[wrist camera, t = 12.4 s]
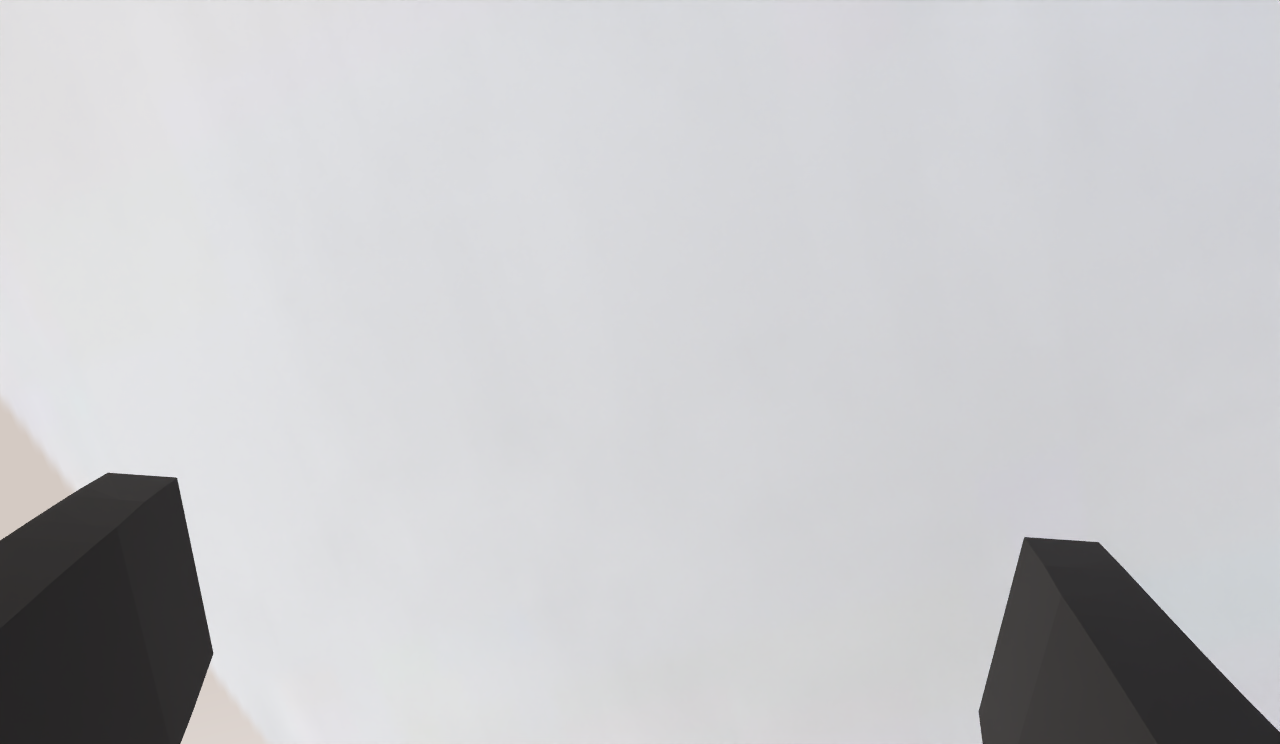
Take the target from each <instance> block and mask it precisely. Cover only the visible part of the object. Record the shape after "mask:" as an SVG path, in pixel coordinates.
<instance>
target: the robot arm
mask: <svg viewBox="0 0 1280 744" xmlns="http://www.w3.org/2000/svg"><path fill="white" fill-rule="evenodd" d="M212 656H213V649H212V645H211V640H210V635H209V630H208V625H207V620H206V616H205V611H204V606H203V601H202V596H201V592H200V587H199V582H198V577H197V572H196V567H195V563H194V558H193V553H192V548H191V543H190V538H189V534H188V529H187V524H186V519H185V514H184V509H183V505H182V500H181V495H180V490H179V485H178V481H177V478H174V477H159V476H145V475H131V474H117V473H107V474H105V475H103V476H102V477H100V478H98V479H96V480H95V481H93V482H91V483H89V484H88V485H86V486H84V487H83V488H81V489H79V490H78V491H76V492H75V493H73V494H71V495H70V496H68V497H67V498H65V499H63V500H62V501H60V502H59V503H57V504H56V505H54V506H52V507H51V508H50V509H48V510H46V511H45V512H43V513H42V514H40V515H39V516H37V517H35V518H34V519H32V520H31V521H29V522H28V523H26V524H25V525H23V526H22V527H20V528H19V529H17V530H16V531H14V532H13V533H11V534H10V535H8V536H6V537H5V538H3V539H2V540H0V744H180V743H181V741H182V738H183V735H184V733H185V730H186V728H187V725H188V723H189V720H190V717H191V715H192V712H193V710H194V707H195V704H196V701H197V698H198V695H199V692H200V690H201V687H202V684H203V681H204V678H205V676H206V673H207V670H208V667H209V664H210V661H211V659H212ZM979 718H980V725H981V733H982V741H983V744H1280V732H1279V731H1278V730H1277V729H1276V728H1275V727H1274V726H1273V725H1272V724H1271V723H1270V722H1269V721H1268V720H1267V719H1266V718H1265V717H1264V716H1263V715H1262V714H1261V713H1260V712H1259V711H1258V710H1257V709H1256V708H1255V707H1254V706H1253V705H1252V704H1251V703H1250V702H1249V701H1248V700H1247V699H1246V698H1245V697H1244V696H1243V695H1242V694H1241V693H1240V692H1239V690H1238V689H1237V688H1236V687H1235V686H1234V685H1233V684H1232V683H1231V682H1230V681H1229V680H1228V679H1227V678H1226V677H1225V676H1224V675H1223V674H1222V673H1221V672H1220V671H1219V670H1218V669H1217V668H1216V667H1215V665H1214V664H1213V663H1212V662H1211V661H1210V660H1209V659H1208V658H1207V657H1206V656H1205V655H1204V654H1203V653H1202V652H1201V651H1200V650H1199V649H1198V647H1197V646H1196V645H1195V644H1194V643H1193V642H1192V641H1191V640H1190V639H1189V638H1188V637H1187V636H1186V635H1185V634H1184V633H1183V631H1182V630H1181V629H1180V628H1179V627H1178V626H1177V625H1176V624H1175V623H1174V622H1173V621H1172V620H1171V619H1170V618H1169V617H1168V615H1167V614H1166V613H1165V612H1164V611H1163V610H1162V609H1161V608H1160V607H1159V606H1158V605H1157V604H1156V602H1155V601H1154V600H1153V599H1152V598H1151V597H1150V596H1149V595H1148V594H1147V593H1146V592H1145V591H1144V590H1143V588H1142V587H1141V586H1140V585H1139V584H1138V583H1137V582H1136V581H1135V580H1134V579H1133V578H1132V577H1131V576H1130V575H1129V573H1128V572H1127V571H1126V570H1125V569H1124V568H1123V567H1122V566H1121V565H1120V564H1119V563H1118V562H1117V561H1116V560H1115V559H1114V558H1113V557H1112V556H1111V555H1110V554H1109V553H1108V552H1107V550H1106V549H1105V548H1104V547H1103V546H1102V545H1101V544H1100V543H1099V542H1086V541H1072V540H1057V539H1043V538H1029V537H1024V540H1023V544H1022V548H1021V552H1020V556H1019V559H1018V563H1017V567H1016V571H1015V575H1014V578H1013V582H1012V586H1011V590H1010V594H1009V598H1008V601H1007V605H1006V609H1005V613H1004V617H1003V621H1002V624H1001V628H1000V632H999V636H998V640H997V644H996V647H995V651H994V655H993V659H992V663H991V667H990V670H989V674H988V678H987V682H986V686H985V690H984V693H983V697H982V701H981V705H980V709H979Z"/></svg>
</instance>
